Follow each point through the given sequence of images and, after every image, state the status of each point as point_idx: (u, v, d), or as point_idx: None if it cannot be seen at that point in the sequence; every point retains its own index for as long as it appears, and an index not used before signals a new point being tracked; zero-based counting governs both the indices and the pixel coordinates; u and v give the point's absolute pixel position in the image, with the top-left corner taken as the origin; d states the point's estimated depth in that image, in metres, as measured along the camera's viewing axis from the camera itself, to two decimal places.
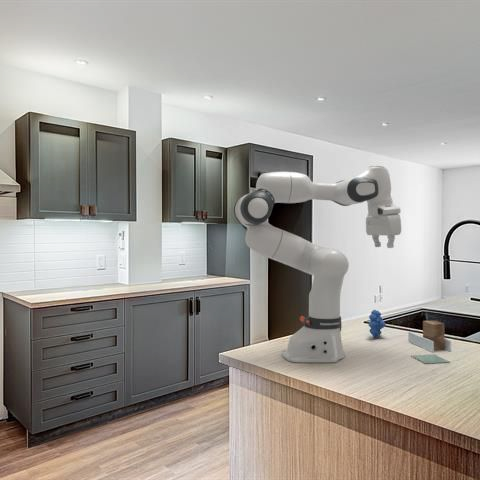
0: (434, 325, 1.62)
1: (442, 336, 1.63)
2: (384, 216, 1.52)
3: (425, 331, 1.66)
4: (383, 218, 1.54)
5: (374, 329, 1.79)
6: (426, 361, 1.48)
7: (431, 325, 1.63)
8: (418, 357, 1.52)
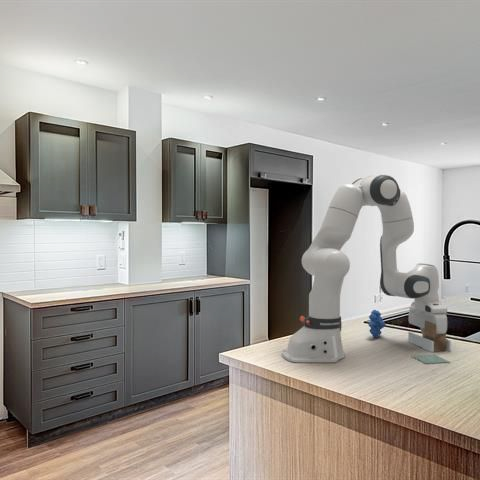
0: None
1: (444, 336, 1.62)
2: (431, 314, 1.62)
3: (427, 331, 1.65)
4: (430, 315, 1.63)
5: (374, 329, 1.79)
6: (426, 361, 1.48)
7: (433, 325, 1.62)
8: (418, 357, 1.52)
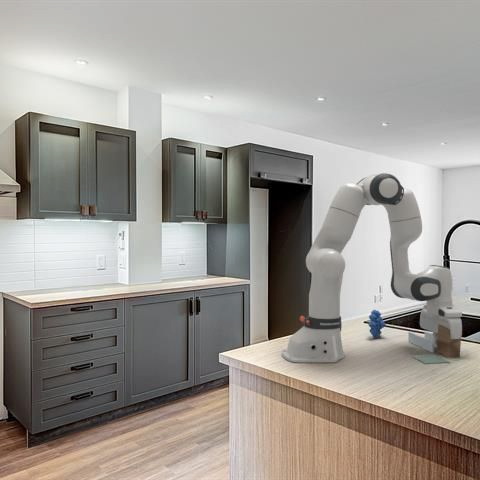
0: None
1: (458, 342, 1.54)
2: (445, 318, 1.54)
3: (440, 335, 1.57)
4: (444, 319, 1.55)
5: (374, 329, 1.79)
6: (426, 361, 1.48)
7: (447, 330, 1.53)
8: (418, 357, 1.52)
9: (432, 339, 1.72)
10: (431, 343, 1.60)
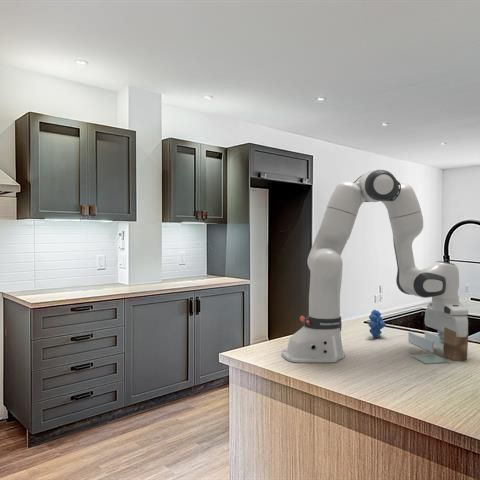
0: None
1: (465, 345, 1.50)
2: (451, 316, 1.50)
3: (447, 338, 1.53)
4: (449, 317, 1.51)
5: (374, 329, 1.79)
6: (426, 361, 1.48)
7: (454, 333, 1.50)
8: (418, 357, 1.52)
9: (432, 339, 1.72)
10: (431, 343, 1.60)
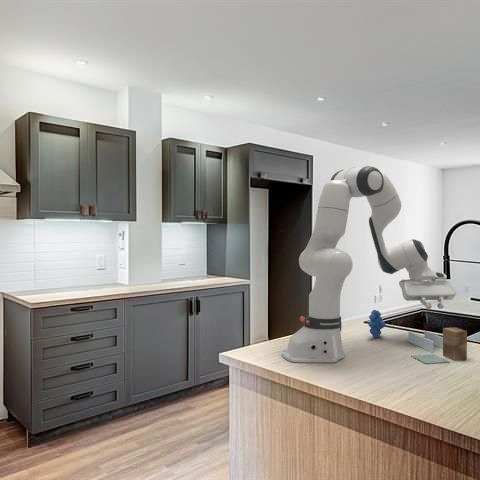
0: (456, 333, 1.50)
1: (464, 345, 1.51)
2: (444, 279, 1.72)
3: (446, 339, 1.54)
4: (442, 281, 1.72)
5: (374, 329, 1.79)
6: (426, 361, 1.48)
7: (452, 333, 1.50)
8: (418, 357, 1.52)
9: (432, 339, 1.72)
10: (431, 343, 1.60)
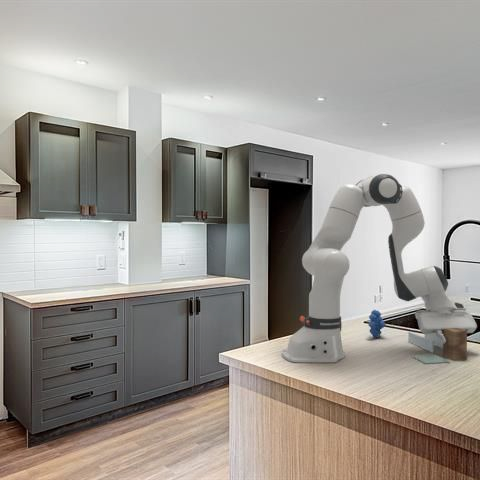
0: (456, 333, 1.50)
1: (464, 344, 1.51)
2: (464, 310, 1.60)
3: None
4: (461, 312, 1.59)
5: (374, 329, 1.79)
6: (426, 361, 1.48)
7: (452, 333, 1.50)
8: (418, 357, 1.52)
9: (432, 339, 1.72)
10: (431, 343, 1.60)
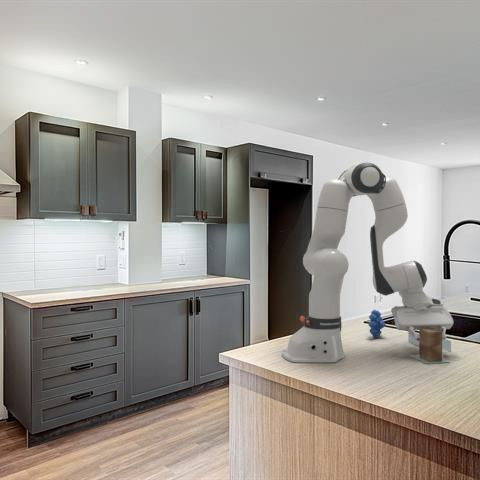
0: (430, 333, 1.47)
1: (439, 345, 1.48)
2: (441, 306, 1.57)
3: (422, 339, 1.51)
4: (438, 308, 1.57)
5: (374, 329, 1.79)
6: (426, 361, 1.48)
7: (427, 333, 1.48)
8: (418, 357, 1.52)
9: None
10: None
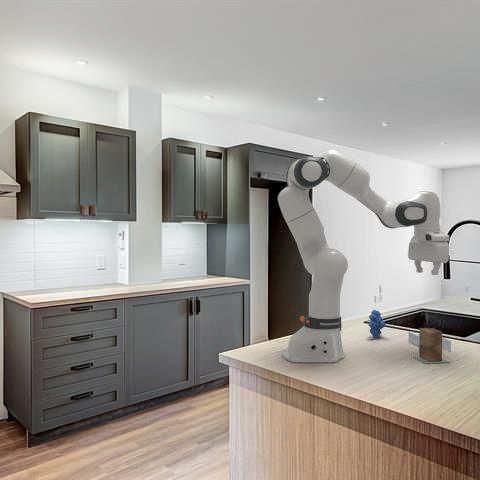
0: (430, 333, 1.47)
1: (439, 345, 1.48)
2: (432, 243, 1.51)
3: (422, 339, 1.51)
4: (431, 244, 1.52)
5: (374, 329, 1.79)
6: (426, 361, 1.48)
7: (427, 333, 1.48)
8: (418, 357, 1.52)
9: None
10: None
